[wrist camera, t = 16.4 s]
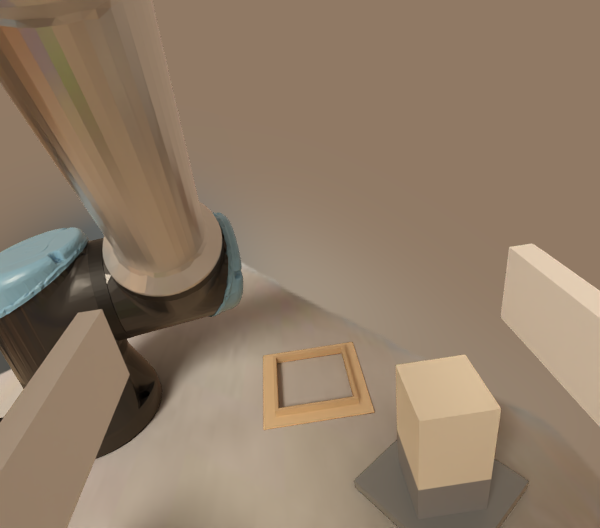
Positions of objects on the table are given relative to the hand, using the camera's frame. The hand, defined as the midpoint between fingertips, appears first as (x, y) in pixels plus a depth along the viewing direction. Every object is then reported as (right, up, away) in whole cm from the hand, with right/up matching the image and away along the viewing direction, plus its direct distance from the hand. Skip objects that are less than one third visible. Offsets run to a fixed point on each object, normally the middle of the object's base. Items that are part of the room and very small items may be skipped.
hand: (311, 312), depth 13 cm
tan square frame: (+1, -13, +39) cm, 41 cm away
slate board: (+13, -19, +25) cm, 34 cm away
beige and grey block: (+12, -18, +24) cm, 33 cm away
